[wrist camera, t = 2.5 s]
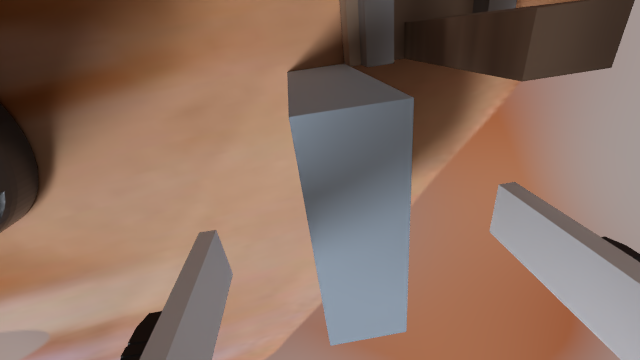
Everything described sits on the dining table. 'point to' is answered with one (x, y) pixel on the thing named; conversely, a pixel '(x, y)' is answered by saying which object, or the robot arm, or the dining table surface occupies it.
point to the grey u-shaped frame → (486, 35)
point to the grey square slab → (355, 195)
